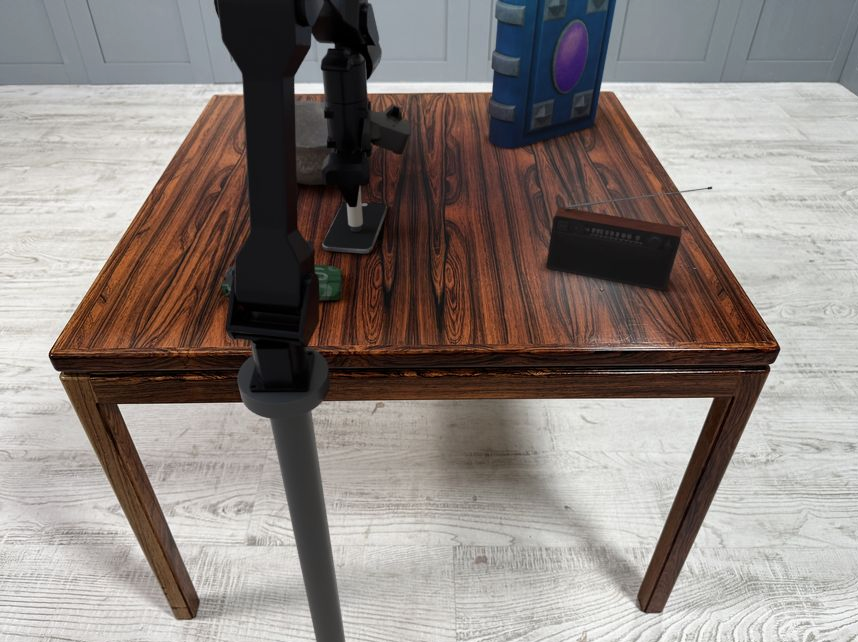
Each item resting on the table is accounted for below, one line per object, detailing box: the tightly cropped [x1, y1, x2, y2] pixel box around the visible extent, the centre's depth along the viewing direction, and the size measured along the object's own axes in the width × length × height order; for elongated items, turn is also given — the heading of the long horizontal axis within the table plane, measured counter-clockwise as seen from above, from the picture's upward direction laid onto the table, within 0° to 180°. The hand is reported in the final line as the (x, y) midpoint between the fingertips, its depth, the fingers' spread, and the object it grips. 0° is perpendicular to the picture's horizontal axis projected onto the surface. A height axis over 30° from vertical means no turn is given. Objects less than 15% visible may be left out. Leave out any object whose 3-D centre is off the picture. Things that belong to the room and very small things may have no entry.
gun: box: [220, 264, 344, 301], centre depth 91 cm, size 16×1×10 cm
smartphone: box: [321, 201, 388, 254], centre depth 102 cm, size 8×1×15 cm
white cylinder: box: [347, 186, 363, 232], centre depth 97 cm, size 2×2×9 cm
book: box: [487, 0, 617, 150], centre depth 122 cm, size 24×9×30 cm, turn 123°
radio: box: [545, 186, 713, 292], centre depth 87 cm, size 19×3×15 cm, turn 70°
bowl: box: [295, 99, 332, 186], centre depth 114 cm, size 21×21×10 cm
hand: (353, 202), depth 97 cm, fingers closed on white cylinder, 2 cm apart
